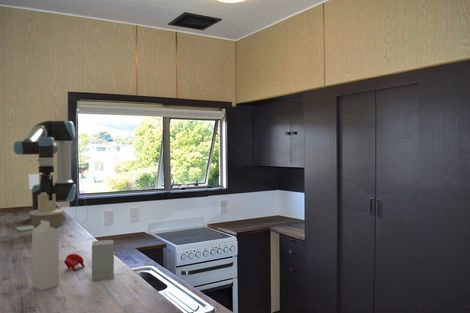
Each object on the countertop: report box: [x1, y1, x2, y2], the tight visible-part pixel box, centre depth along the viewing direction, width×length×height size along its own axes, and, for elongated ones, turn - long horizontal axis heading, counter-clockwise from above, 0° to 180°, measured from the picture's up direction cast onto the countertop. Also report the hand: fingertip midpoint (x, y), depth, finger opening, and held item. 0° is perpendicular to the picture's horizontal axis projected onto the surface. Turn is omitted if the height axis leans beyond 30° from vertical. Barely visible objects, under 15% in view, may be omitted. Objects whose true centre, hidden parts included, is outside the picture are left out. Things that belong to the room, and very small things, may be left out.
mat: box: [14, 224, 35, 232], centre depth 226 cm, size 11×10×1 cm
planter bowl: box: [30, 212, 64, 230], centre depth 215 cm, size 16×16×11 cm
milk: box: [31, 220, 60, 291], centre depth 131 cm, size 6×6×22 cm
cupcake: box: [58, 205, 66, 226], centre depth 236 cm, size 9×8×12 cm
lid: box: [28, 194, 65, 216], centre depth 215 cm, size 17×17×10 cm
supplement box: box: [91, 239, 115, 282], centre depth 140 cm, size 7×7×13 cm
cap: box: [63, 253, 85, 272], centre depth 150 cm, size 8×6×6 cm
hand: (46, 205), depth 215 cm, fingers open, 11 cm apart
